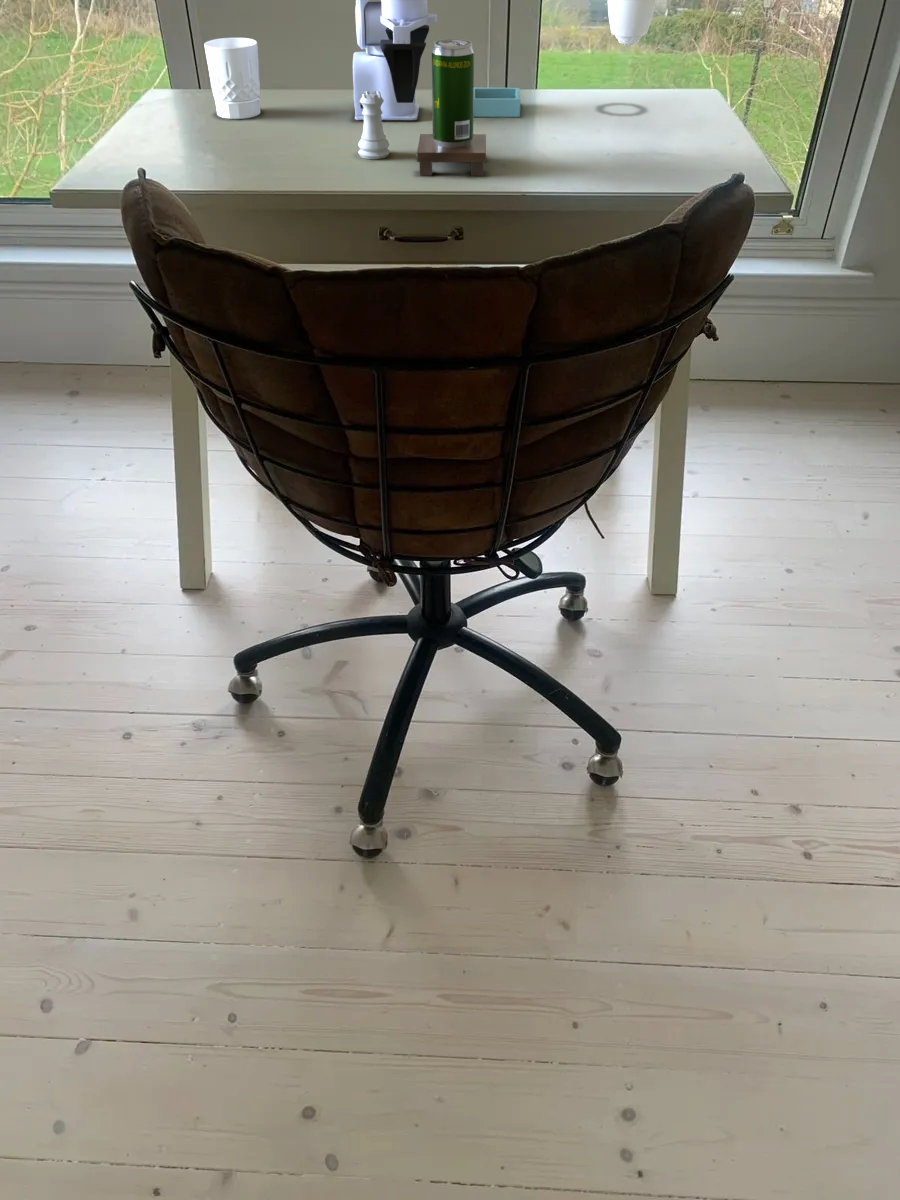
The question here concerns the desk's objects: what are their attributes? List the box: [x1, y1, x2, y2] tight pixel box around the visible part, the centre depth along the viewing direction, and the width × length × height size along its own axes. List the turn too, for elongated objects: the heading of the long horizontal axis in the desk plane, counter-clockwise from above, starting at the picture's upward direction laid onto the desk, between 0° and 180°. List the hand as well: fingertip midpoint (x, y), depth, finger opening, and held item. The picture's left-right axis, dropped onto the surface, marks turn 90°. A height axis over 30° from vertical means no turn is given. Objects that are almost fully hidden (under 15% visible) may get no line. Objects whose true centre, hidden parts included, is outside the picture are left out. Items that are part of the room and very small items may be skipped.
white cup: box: [203, 37, 261, 120], centre depth 161 cm, size 8×8×10 cm
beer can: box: [431, 38, 475, 148], centre depth 137 cm, size 5×5×12 cm
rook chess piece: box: [357, 91, 391, 160], centre depth 144 cm, size 4×4×8 cm
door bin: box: [473, 87, 521, 118], centre depth 165 cm, size 8×8×2 cm
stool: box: [416, 133, 487, 177], centre depth 141 cm, size 9×9×3 cm
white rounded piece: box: [607, 0, 658, 47], centre depth 160 cm, size 7×7×21 cm
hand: (406, 94), depth 137 cm, fingers open, 7 cm apart
